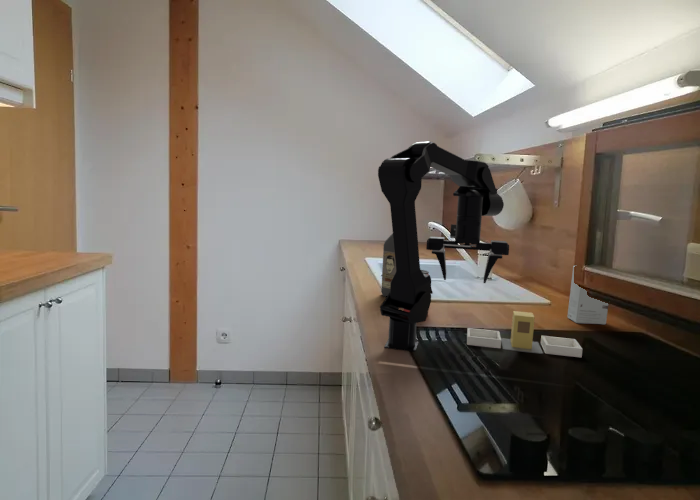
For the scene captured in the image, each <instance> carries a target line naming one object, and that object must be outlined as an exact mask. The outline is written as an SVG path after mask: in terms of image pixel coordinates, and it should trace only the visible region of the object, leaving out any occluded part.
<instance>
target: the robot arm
mask: <svg viewBox="0 0 700 500" xmlns="http://www.w3.org/2000/svg"><path fill="white" fill-rule="evenodd" d="M489 167H490V166H489V165H488V163H486V162H485V161H478V160H469V159H465V158H462V157H460V156H458V155H456V154H454V153H452V152H450V151H448V150H446V149H445V148H442V147H440V146H438V145H437V143H435V142H433V141H419V142H414V143H413V144H411V145H410V146H409V147H408V148H406V149H404V150H402V151H400V152H398V153H396V154H394V155H392V156H390V157H389V158H386V159H384V160H382V162H381V163H380V165H379V166H378V168H377V176H378V181H379V185H380V190H381V192H382V193H383V195H384V197H385V198H386V200H387V201H388V203H389V207H390V217H391V227H392V234H393V240H394V251H395V261H396V273H395V275H394V277H393V279H392V281H391V284H390V293H389V294H388V296H387V297H385V298H384V299H383V301H382V303H381V305H380V306H379V310H380V315H381V316H383V317H384V316H385V317H388V318H389V319H388V321H389V322H388V323H389V324H388V325H389V326H388V339H387V341H386V343H385V344H384V349H388V350H389V349H390V350H399V351H405V352H416V350H417V348H418V345H419V341H418V340H416V339H417V337H416V336H417V324H419V323H423V322H425V321H426V320H427V318H428V317H427V316H428V315H429V310H430V306H431V302H432V295H433V294H434V293H433V290H432V277H431V275H430V274H429V275H426V274H423V273H422V271H421V270H422V269H421V267H420V266H421V264H420V263H421V262H420V253H419V251H420V250H419V249H420V248H419V239H418V226H417V214H416V213H417V212H416V200H417V198H418V197H419V196H418V195H419V194H420V191H421V189H422V180H423V179H422V178H424V176H426V175H427V174H428V173H429V172H430V170H431V168H432V169H434V170H437V171H439V172H442V173H443V174H446V175H448V176H449V177H450V179H451V181H452V182H453V183H454V184H456V185H457V186H458V188H457V189H456V190H455V191H454V192H453V193H452V196H454V197H457V207H456V209H457V210H456V220H455V221H456V223H455V224H453V223H452V224H450V229H449V231H450V233H449V237H450V239H454V240H445V237H444V236H429V237H428V239H426V247H425V248H426V250H427V251H431V254H432V255H435V256H436V258H437V261H438V263H439V266H440V270H441V273H442V277H443V280H444V281H446V280H447V263H446V262H447V261H446V249H455V250H457V249H458V250H473V251H486V252H487V251H488V253H487V259H486V264H485V265H486V266H485V269H484V274H483V284H486V283H487V280H488V278H489V275H490V273H491V271H492V269H493V267H494V266H495V264H496V262H497V260H498V259H500V260H501V259H503V256H509V254H510V245H509V243H508V242H507V241H506V240H496V239H495V240H493V239H492V240H490V243H489V242H480V241H481V232H482V218H483V217H494V216H498V215H500V214H501V212H502V211H503V209H504V205H505V204H504V203H505V202H504V200H503V197H502V196H501V195H500V194H499V193H498V188H496V185H495V182H494V179H493V176H492V171H491V169H490V168H489ZM404 309H406V310H409V311H410V312H406V311H403V310H404ZM427 314H428V315H427Z"/></svg>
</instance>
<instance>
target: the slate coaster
mask: <svg viewBox="0 0 700 500" xmlns="http://www.w3.org/2000/svg"><path fill="white" fill-rule="evenodd" d="M501 347H502V350H504V351H505V350H506V351H513V352H523V353H531V354H540V355H544V351H543V350H542V349H543V348H541V347H542V346H541V344H540V343H539V341H534V340H533V341H532V349H526V348H517V347H512V345H511V338H504V337H501Z"/></svg>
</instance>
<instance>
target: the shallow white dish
mask: <svg viewBox="0 0 700 500" xmlns="http://www.w3.org/2000/svg"><path fill="white" fill-rule="evenodd" d="M501 338H502V337H501V333H500V331H499V330H492V329H491V330H490V329H483V328H472V327H467V332H466V345H468V346H475V347H483V348H493V349H501V348H502V342H501Z"/></svg>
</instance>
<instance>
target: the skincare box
mask: <svg viewBox="0 0 700 500" xmlns="http://www.w3.org/2000/svg"><path fill="white" fill-rule="evenodd" d="M575 266H576V265H573V266H572V275H571V283H570V290H569V291H570V292H569V302H568V307H567V308H568V309H567V319H569V320H571V321H572V322H574V323H575V324H585V325H586V324H588V325H606V324H607V318H608V310H609V304H608V303H605V302H602V301H600V300H597V299H594V298H591V297H589V296H588V295H587V291H586V290H585V289H583V288H581V287H579V286H578V285H577V284H575V283H574V267H575Z"/></svg>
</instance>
